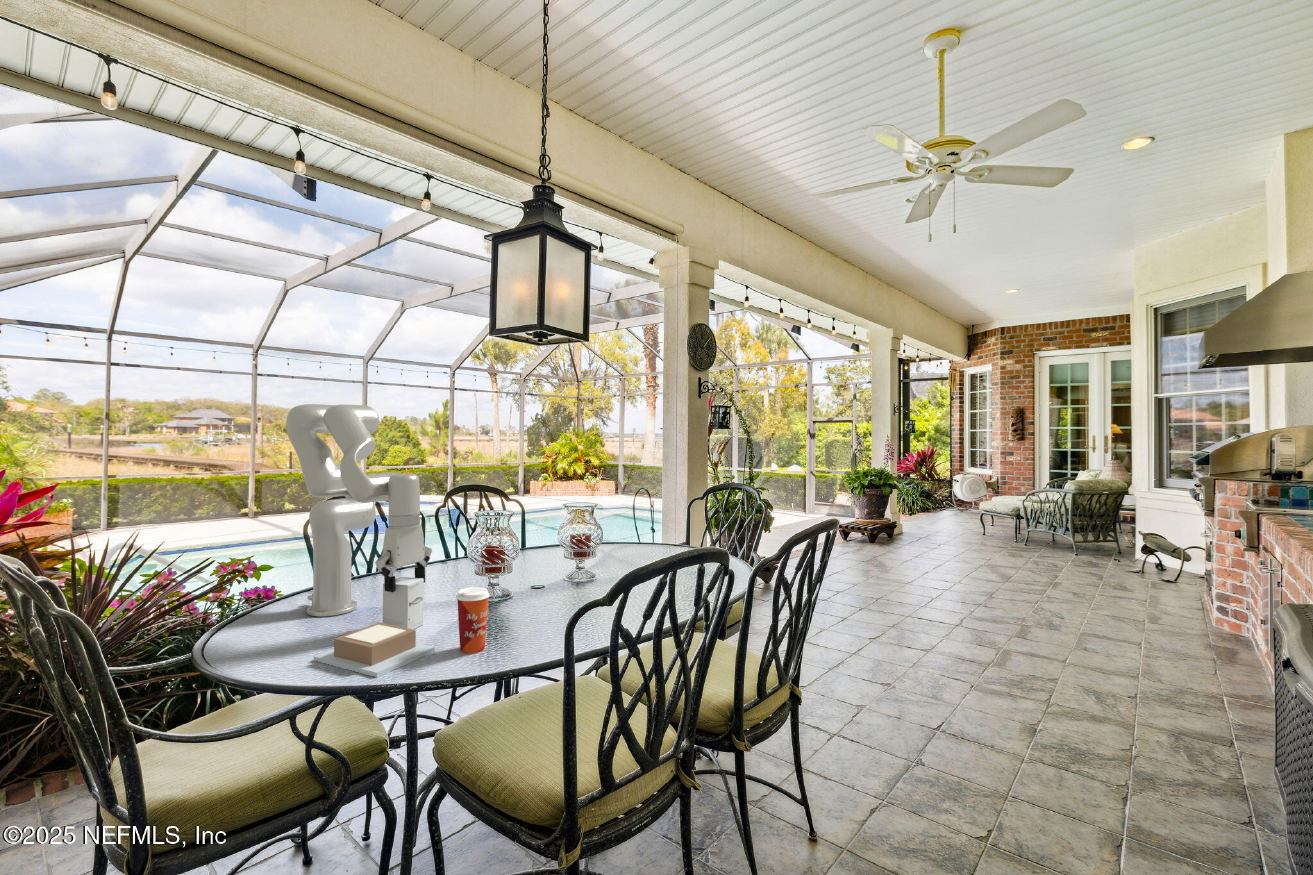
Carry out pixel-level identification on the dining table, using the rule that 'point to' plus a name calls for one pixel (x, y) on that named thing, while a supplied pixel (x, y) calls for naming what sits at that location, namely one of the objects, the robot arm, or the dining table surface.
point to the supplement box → (404, 603)
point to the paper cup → (472, 618)
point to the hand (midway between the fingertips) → (405, 586)
